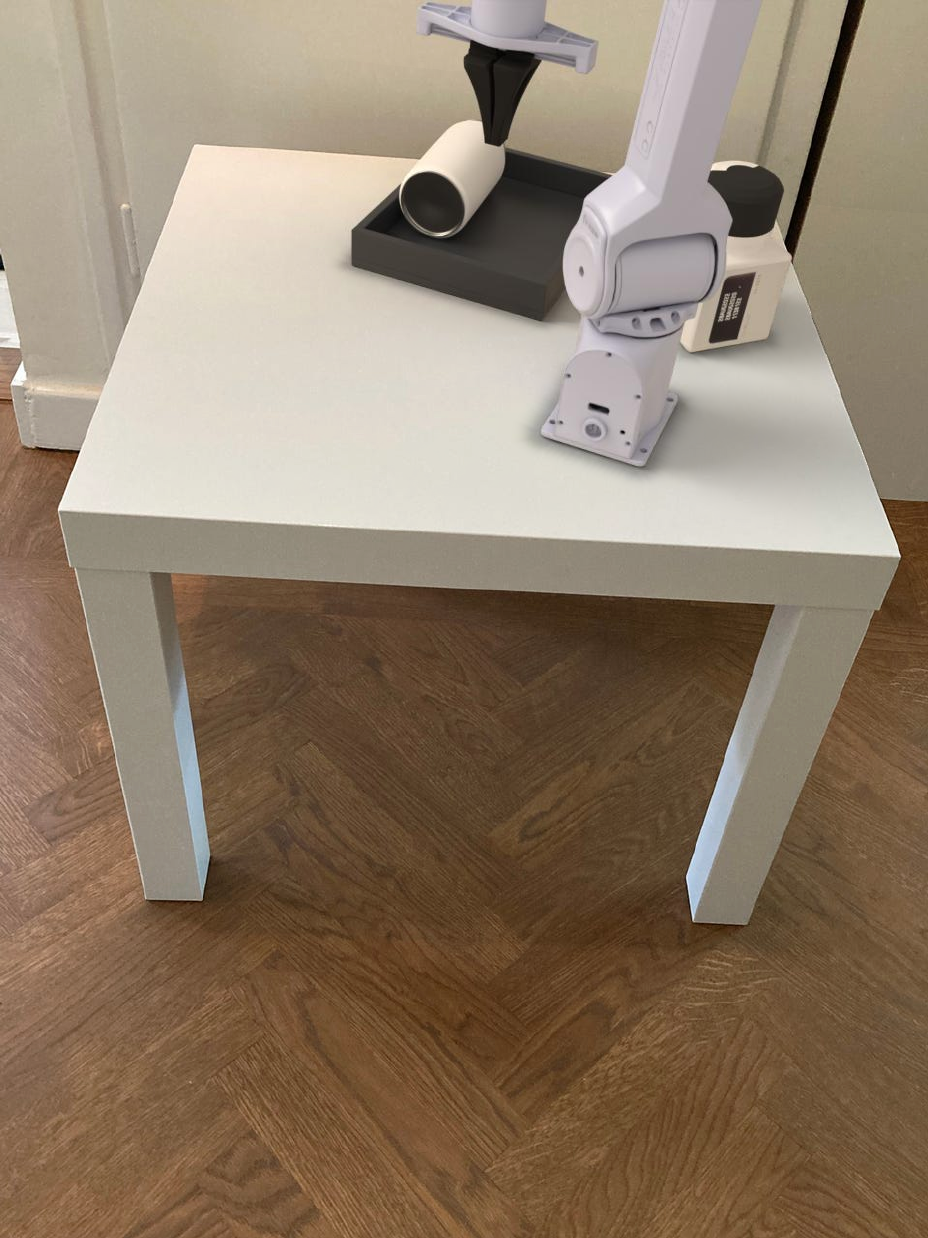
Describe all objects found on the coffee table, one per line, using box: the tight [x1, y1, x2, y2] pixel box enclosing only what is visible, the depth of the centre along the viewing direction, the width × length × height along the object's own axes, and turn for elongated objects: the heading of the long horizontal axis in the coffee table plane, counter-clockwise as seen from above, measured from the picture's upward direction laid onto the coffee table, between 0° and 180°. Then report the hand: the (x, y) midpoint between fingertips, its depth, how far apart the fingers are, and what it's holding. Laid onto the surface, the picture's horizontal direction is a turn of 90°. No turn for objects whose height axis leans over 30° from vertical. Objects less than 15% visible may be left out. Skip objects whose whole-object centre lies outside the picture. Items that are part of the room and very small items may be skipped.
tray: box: [350, 147, 614, 322], centre depth 103 cm, size 22×18×3 cm
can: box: [399, 118, 507, 238], centre depth 103 cm, size 6×6×12 cm
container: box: [680, 160, 793, 353], centre depth 92 cm, size 8×8×13 cm
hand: (496, 140), depth 96 cm, fingers closed
